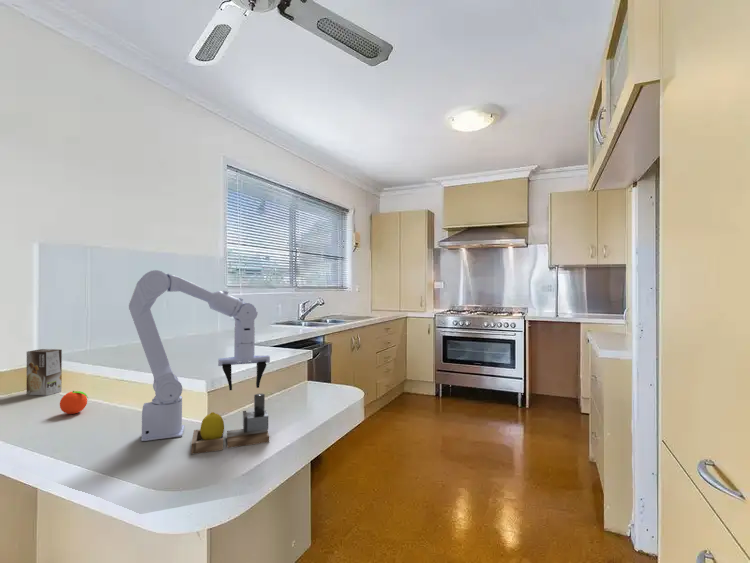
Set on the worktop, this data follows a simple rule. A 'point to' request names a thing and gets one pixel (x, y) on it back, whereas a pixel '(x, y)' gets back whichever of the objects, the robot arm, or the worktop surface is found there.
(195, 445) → the lemon cradle
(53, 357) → the coffee box
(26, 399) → the worktop surface
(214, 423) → the lemon
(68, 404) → the clementine
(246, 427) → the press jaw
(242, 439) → the press bed
